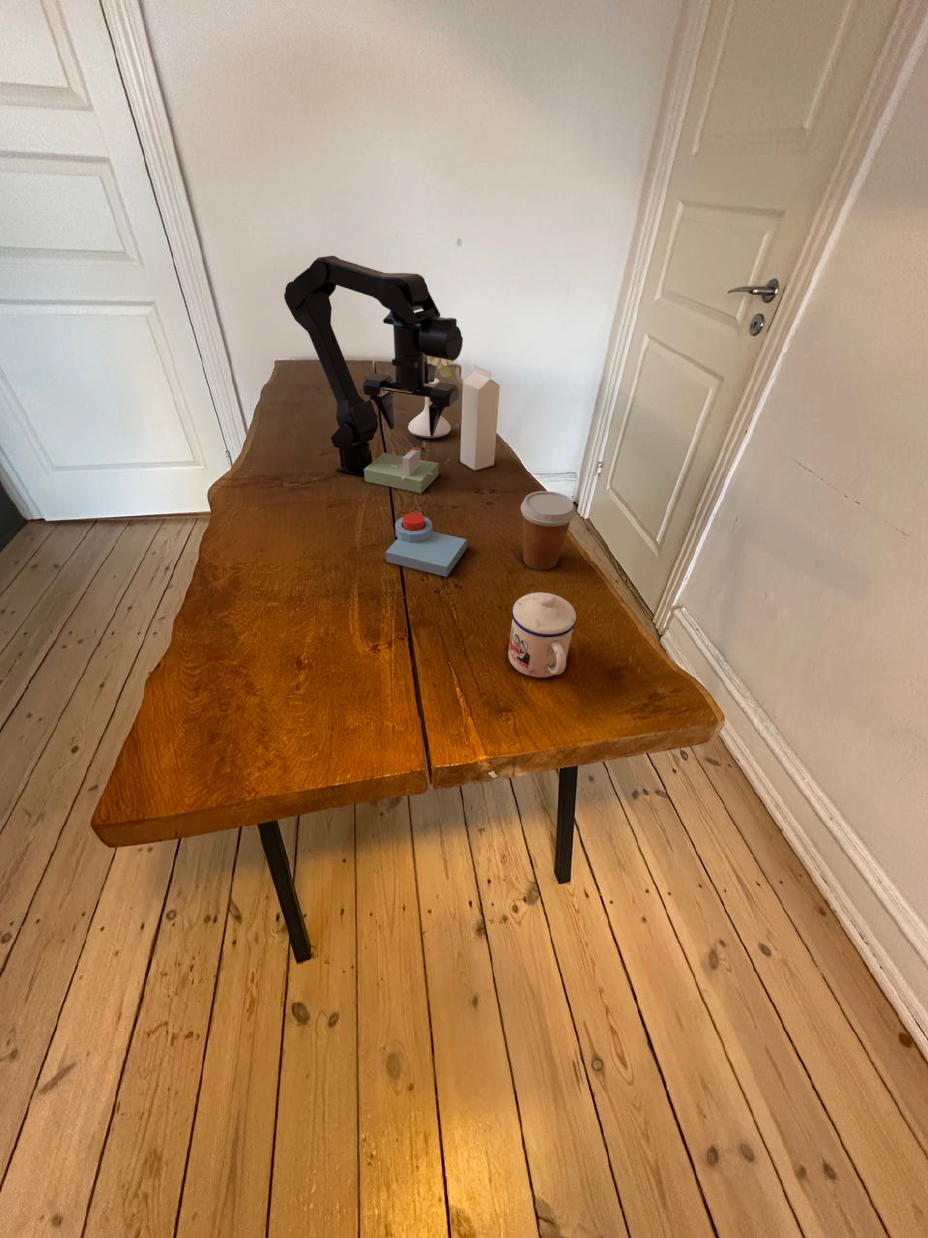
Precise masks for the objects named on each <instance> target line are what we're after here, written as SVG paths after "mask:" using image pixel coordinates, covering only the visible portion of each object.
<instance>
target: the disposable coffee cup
mask: <svg viewBox="0 0 928 1238" xmlns="http://www.w3.org/2000/svg"><path fill="white" fill-rule="evenodd" d="M574 505H575V504H574V501H573V500H572V499H571V498H570V497H568V496H567V495H565V494H562V493H560V492H555V491H549V490H539V491H534V492H531V493H528V494H527V495H526V496H525V497H524V499H523V501H522V503H520V511H521V514H522V550H523V553H522V555H523V557H522V558H523V559H522V560H523V562H524V564H525V565H527V566H528V567H530V568H532V569H535V570H541V571H543V570H550V569H553V568H554V567H556V566H557V564H558V560H559V557H560V554H561V551H562V549H563V545H564V543H565V539H566V536H567V533H568V530H569V527H570V524H571V522H572V521H573V519H574V517H575V515H576V509H575V506H574Z"/></svg>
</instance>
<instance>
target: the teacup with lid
mask: <svg viewBox="0 0 928 1238" xmlns="http://www.w3.org/2000/svg"><path fill="white" fill-rule="evenodd" d="M511 617H512V620H511V629H510V637H509V644H508V653H507V654H508V660H509V662H510V664H511V665H512V667H513V668H514V669H515V670H517V671H518V672H519V673H521V674H523V675H526V676H528V677H533V678H549V677H552V676H557V675H561V674H562V673H564V671H565V669H566V666H567V658H568V653H569V649H570V645H571V640H572V635H573V631H574V628H575V626H576V625H577V621H578V620H577V619H578V618H577V612H576V610H575V608H574V606H573V605H572V604H571V603H570V602H569V601H568V600H566V599H565V598H563V597H561V596H559V595H556V594H554V593H549V592H532V593H528V594H525V595H523V596H521V597H520V598H518V599H517V600H516V601H515V603H514V604H513V606H512V609H511Z"/></svg>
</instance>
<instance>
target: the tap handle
mask: <svg viewBox="0 0 928 1238" xmlns="http://www.w3.org/2000/svg"><path fill="white" fill-rule="evenodd" d="M403 456H404V457H403V475H407V476H410V475H411V474H412V473H413V472H414V471H415V470H416V469H417V468H418V467H419V466H420V460H421V448H420V447H417V446H413V447H412V449H411V450H409V451H408V452H407V453H406V454H405V455H403Z"/></svg>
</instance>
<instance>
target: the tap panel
mask: <svg viewBox="0 0 928 1238" xmlns="http://www.w3.org/2000/svg"><path fill="white" fill-rule="evenodd" d="M404 456H405V455H399V454H393V453H390V452H389V453H388V452H383V453H382V454H380V455H379V456H378V457H376V459H374V460H372V463H371V464H370V465H368V466H367V467H366V468H365V469H364V475H363V476H364V482H365V483H371V484H376V485H379V486H385V487H390V488H394V489H399V490H404V491H408V492H413V493H416V494H422V493H423V492H424V491H425V490H426V489H427V488H428V487H429V486H430V485H431V484H432V483H433V482H434V481H435V480H436V478H438V476H439V470H440V469H439V467H440V466H439V462H434V461H429V460H425V459H424V460H423V459H420V466H419V467H418V468H417V469H416V470H415V471H414V472H413V473H412V474H411V475H410V476H407V475H403V457H404Z"/></svg>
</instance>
